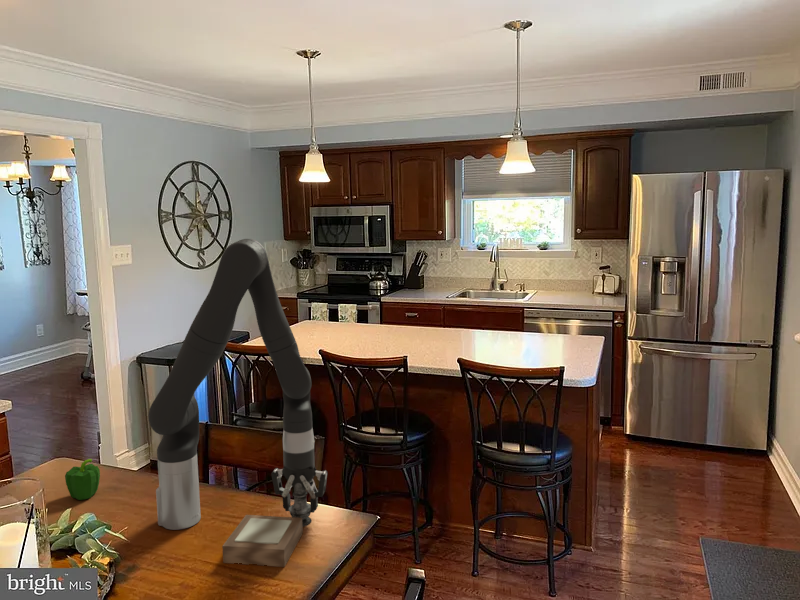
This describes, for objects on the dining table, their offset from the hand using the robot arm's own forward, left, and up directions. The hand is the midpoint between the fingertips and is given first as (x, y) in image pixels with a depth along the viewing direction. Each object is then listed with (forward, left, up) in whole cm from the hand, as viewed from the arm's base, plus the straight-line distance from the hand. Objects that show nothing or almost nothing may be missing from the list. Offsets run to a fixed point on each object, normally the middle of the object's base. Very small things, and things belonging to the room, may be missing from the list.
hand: (300, 510), depth 151 cm
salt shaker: (0, 0, -3) cm, 3 cm away
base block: (-5, -12, -3) cm, 14 cm away
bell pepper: (-63, +7, -3) cm, 63 cm away
